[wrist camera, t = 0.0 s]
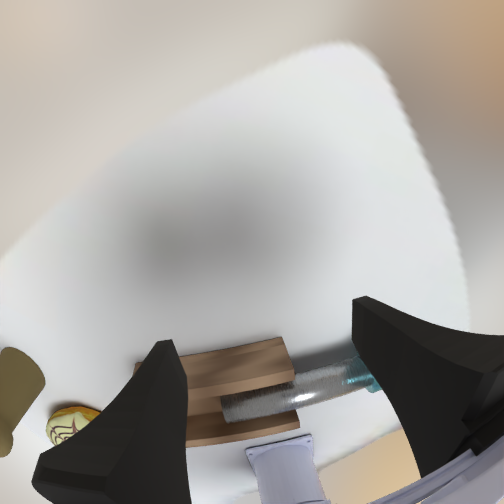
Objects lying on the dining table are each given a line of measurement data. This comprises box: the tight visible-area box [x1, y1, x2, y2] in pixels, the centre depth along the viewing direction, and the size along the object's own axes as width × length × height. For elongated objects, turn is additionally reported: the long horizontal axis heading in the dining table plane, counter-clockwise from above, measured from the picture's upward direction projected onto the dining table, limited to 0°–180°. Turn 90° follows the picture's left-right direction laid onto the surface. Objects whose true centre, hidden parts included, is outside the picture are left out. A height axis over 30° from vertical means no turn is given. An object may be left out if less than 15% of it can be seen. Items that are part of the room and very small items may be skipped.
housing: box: [132, 337, 300, 448], centre depth 22 cm, size 13×8×5 cm, turn 99°
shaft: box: [220, 351, 382, 424], centre depth 22 cm, size 14×4×4 cm, turn 99°
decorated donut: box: [46, 406, 101, 446], centre depth 24 cm, size 10×11×4 cm
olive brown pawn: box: [0, 347, 45, 457], centre depth 16 cm, size 6×6×11 cm
